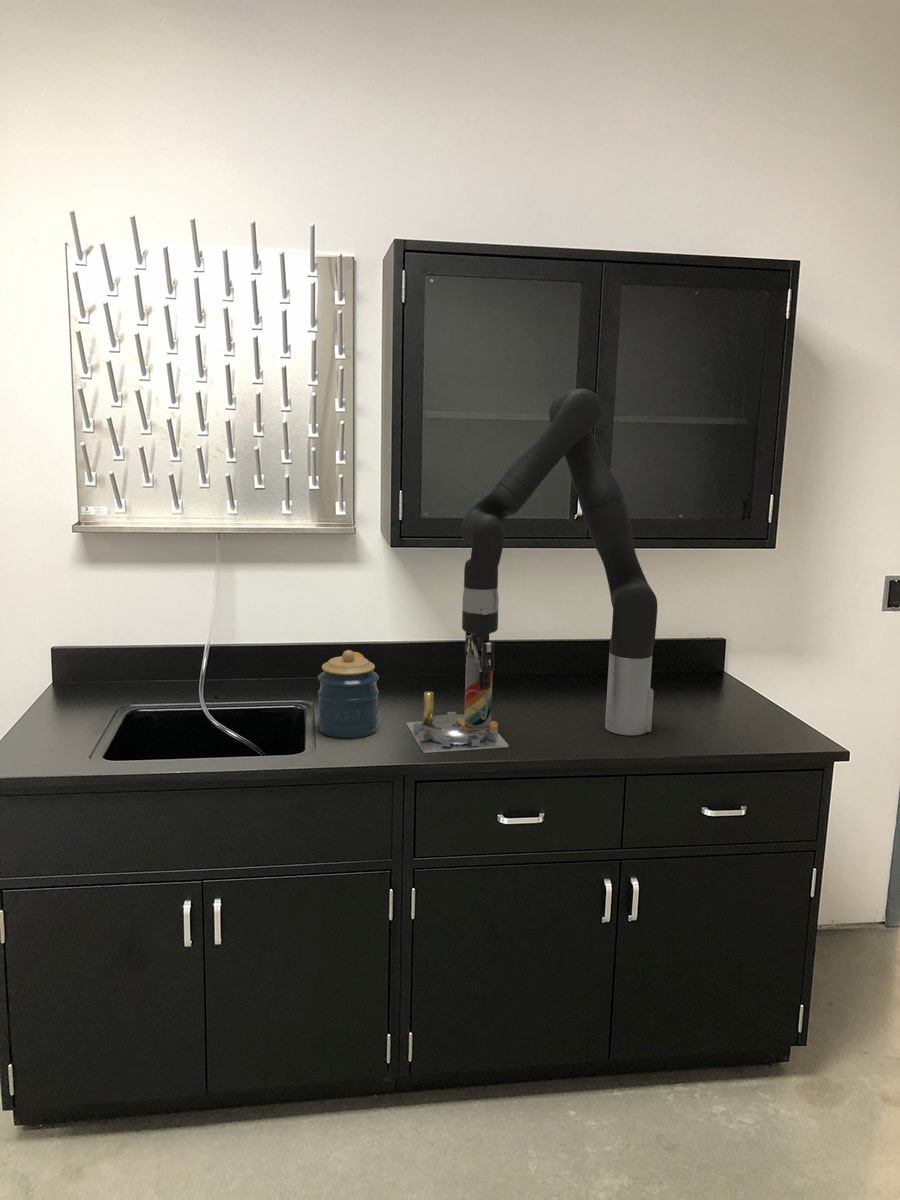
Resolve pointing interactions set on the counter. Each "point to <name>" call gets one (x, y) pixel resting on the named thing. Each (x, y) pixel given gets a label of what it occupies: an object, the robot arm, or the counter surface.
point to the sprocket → (450, 727)
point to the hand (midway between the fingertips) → (478, 683)
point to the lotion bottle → (476, 695)
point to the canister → (348, 697)
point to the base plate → (437, 747)
